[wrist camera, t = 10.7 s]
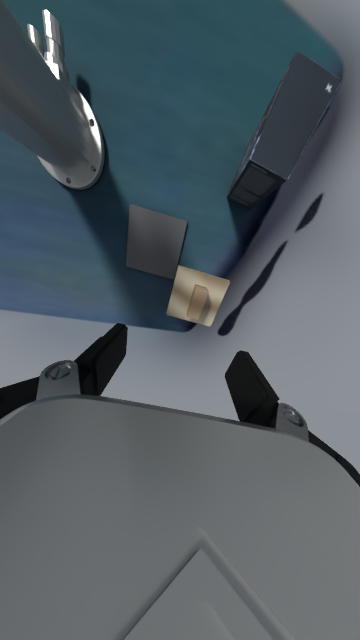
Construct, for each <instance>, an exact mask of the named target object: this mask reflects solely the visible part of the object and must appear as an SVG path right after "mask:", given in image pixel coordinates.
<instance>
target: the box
mask: <svg viewBox="0 0 360 640" xmlns="http://www.w3.org/2000/svg"><path fill="white" fill-rule="evenodd" d="M340 83H341V79H340V78H338V77H336V76H335V75H333V74H332V73H330V72H329V71H327V70H326V69H324V68H323V67H322V66H320V65H319V64H317V63H316V62H315V61H313V60H312V59H310V58H308V57H307V56H305V55H303V54H301V53H299V52H296V53H295V55H294V57H293V59H292V61H291V63H290V65H289V67H288V68H287V70H286V72H285V74H284V76H283V78H282V80H281V82H280V84H279V86H278V88H277V90H276V92H275V94H274V96H273V98H272V100H271V102H270V103H269V105H268V107H267V109H266V111H265V113H264V115H263V117H262V119H261V121H260V123H259V125H258V127H257V129H256V131H255V133H254V135H253V137H252V139H251V141H250V143H249V145H248V148H247V150H246V152H245V155H244V157H243V160H242V162H241V164H240V167H239V169H238V172H237V174H236V176H235V179H234V181H233V184H232V186H231V189H230V191H229V193H228V195H227V197H228V198H229V199H231V200H233V201H235V202H237V203H239V204H241V205H243V206H245V207H247V208H249V209H252V208H253V207H254V206H256V205H257V204H258V203H259V202H261V201H262V200H263V199H264V198H266V197H267V196H268V195H269V194H270V193H272V192H273V191H274V190H275V189H277V188H278V187H279V186H280V185H282V184H283V183H284V182H286V181H287V180H288V179H289V177H290V175H291V173H292V171H293V169H294V167H295V165H296V163H297V161H298V159H299V157H300V156H301V154H302V152H303V150H304V148H305V146H306V144H307V142H308V141H309V139H310V137H311V135H312V133H313V132H314V130H315V128H316V126H317V124H318V123H319V121H320V119H321V117H322V115H323V114H324V112H325V110H326V108H327V106H328V105H329V103H330V101H331V99H332V98H333V96H334V94H335V92H336V91H337V89H338V87H339V85H340Z"/></svg>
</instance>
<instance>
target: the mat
mask: <svg viewBox="0 0 360 640" xmlns="http://www.w3.org/2000/svg"><path fill="white" fill-rule="evenodd" d="M186 226H187V221H185V220H182V219H178V218H175V217H172V216H168V215H165V214H162V213H159V212H155V211H152V210H149V209H145V208H142V207H139V206H136V205H132V204H130V208H129V224H128V239H127V254H126V267H129V268H133V269H136V270H140V271H144V272H147V273H151V274H155V275H158V276H162V277H166V278H169V279H173V280H174V279H175V274H176V270H177V266H178V261H179V257H180V253H181V248H182V244H183V239H184V235H185V231H186Z"/></svg>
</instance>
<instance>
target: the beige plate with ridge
mask: <svg viewBox="0 0 360 640" xmlns="http://www.w3.org/2000/svg"><path fill="white" fill-rule="evenodd" d="M229 283H230V281H229V280H226V279H222V278H219V277H216V276H213V275H209V274H206V273H203V272H199V271H196V270H193V269H190V268H186V267H183V266H180V265H178V269H177V273H176V277H175V281H174V285H173V289H172V293H171V297H170V301H169V305H168V309H167V313H166V315H169V316H173V317H176V318H180V319H184V320H187V321H191V322H195V323H198V324H202V325H206V326H209V327H211V325H212V322H213V320H214V318H215V316H216V313H217V311H218V309H219V306H220V304H221V302H222V299H223V297H224V295H225V292H226V290H227V288H228V286H229Z"/></svg>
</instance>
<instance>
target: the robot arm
mask: <svg viewBox="0 0 360 640" xmlns="http://www.w3.org/2000/svg"><path fill="white" fill-rule="evenodd" d="M42 12H43V22H44V31H45V40H46V42H47V51H48V52H45V54H44V47H43V39H42V37H41V35H40V33H39V32H38V31H37V30H36V29H35V28H34V27H33V26H32V25H30V24H27V26H28V34H29V36H28V35H27V33H26V32H25V30H24V29H23V28H22V26H21V25H20V23H19V22H18V20H17V19H16V18H15V16H14V15H13V13H12V12H11V10H10V9H9V8H8V6H7V5H6V3H5V2H4V1H3V0H0V129H1V130H3V131H4V132H5V133H7V134H8V135H10V136H11V137H12V138H14V139H15V140H17V141H18V142H19V143H21V144H22V145H24V146H25V147H26V148H28V149H29V150H31V151H32V152H34V153H35V154H36V155H37V156H38V158H39V160H40V161H41V163H42V164H43V166H44V167H45V168H46V170H47V171H48V172H49V173H50V174H51V175H52V176H53V177H54V178H55V179H56V180H58V181H59V182H61V183H62V184H64V185H66V186H67V187H70V188H72V189H77V190H83V189H87V188H90V187H91V186H93V185H94V184H95V183H96V182H97V180H98V179H99V177H100V175H101V173H102V170H103V165H104V156H105V152H104V142H103V136H102V132H101V129H100V126H99V123H98V121H97V118H96V116H95V114H94V112H93V110H92V109H91V107H90V105H89V104H88V102H87V101H86V99H85V98H84V97H83V95H82V94H81V93H80V91H79V90H78V89H77V88H76V87H75V86H74V85H72V84H71V83H70V82H69V74H68V72H67V69H66V68H65V62H64V57H65V51H64V37H63V31H62V28H61V26H60V24H59V22H58V21H57V20H56V19H55V17H54V16H53V15H52V14H51V13H50V12H48V11H47V10H42ZM44 57H45V59H44ZM127 329H128V328H127V327H126V326H125V325H124V324H120V323H117V324H116V325H115V326H114V327H113V328H112V329H110V330H109V331H108V332H107V333H106V334H105V335H104V336H103V337H100V338H99V339H98V340H96V341H95V342H94V343H93V344H92V345H91V346H90V347H89V348H88V349H87V350H85V351H84V352H83V353H82V354H81V355H80V356H79V357H78V358H77V359H76V360H74V361H70V360H64V361H59V362H56V363H53V364H51V365H49V366H48V367H46V368H45V369H44V370H43V371H42V372H41V375H40V376H39V377H36V378H33V379H29V380H26V381H22V382H19V383H16V384H13V385H9V386H7V387H3V388H0V640H360V474H359V473H358V472H357V470H356V469H355V468H354V467H353V466H352V465H351V464H350V463H349V462H348V461H347V460H346V459H344V458H343V457H342V456H341V455H339V454H338V453H337V452H336V451H334V450H333V449H332V448H330V447H329V446H328V445H327V444H325V443H324V442H323V441H321V440H320V439H319V438H317V437H316V436H315V435H314V434H312V433H311V432H310V431H309V430H308V427H307V423H306V421H305V420H304V418H303V417H302V416H301V414H299V412H298V411H296V410H295V409H294V408H293V407H291V406H289V405H287V404H285V403H280V404H279V403H278V402H277V401H278V400H279V397H278V396H277V394H276V393H275V391H274V390H273V388H272V387H271V386H270V384H269V383H268V381H267V380H266V378H265V377H264V375H263V374H262V372H261V371H260V369H259V368H258V366H257V365H256V363H255V362H254V360H253V359H252V357H251V356H250V354H249V353H248V352H245V351H239V352H237V354H236V355H235V357H234V359H233V361H232V363H231V364H230V366H229V368H228V370H227V371H226V373H225V379H226V382H227V385H228V388H229V391H230V394H231V397H232V400H233V403H234V406H235V409H236V412H237V415H238V418H239V420H240V421H235V420H230V419H224V418H220V417H214V416H209V415H204V414H198V413H193V412H188V411H182V410H176V409H171V408H166V407H160V406H154V405H149V404H144V403H138V402H132V401H127V400H121V399H114V398H108V397H102V396H100V395H101V394H102V392H103V390H104V389H105V387H106V386H107V384H108V383H109V381H110V379H111V377H112V376H113V375H114V373H115V371H116V370H117V368H118V367H119V365H120V363H121V362H122V360H123V359H124V357H125V355H126V345H127Z"/></svg>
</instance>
